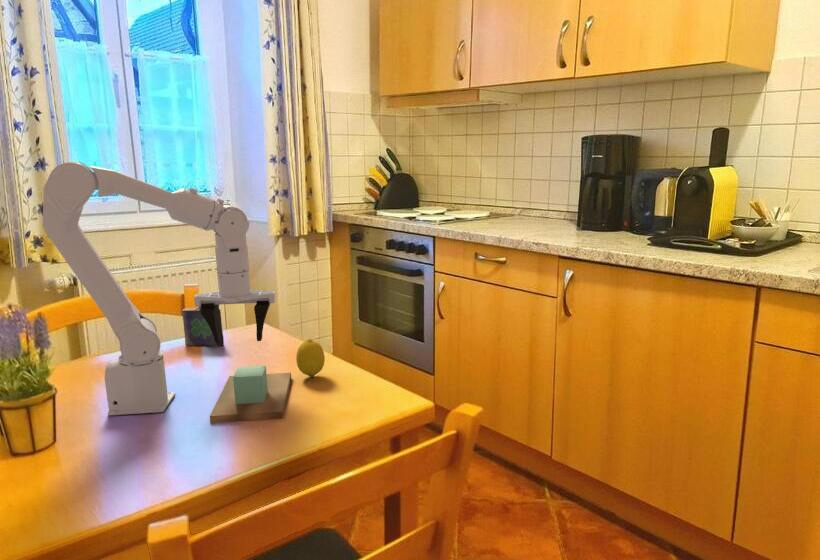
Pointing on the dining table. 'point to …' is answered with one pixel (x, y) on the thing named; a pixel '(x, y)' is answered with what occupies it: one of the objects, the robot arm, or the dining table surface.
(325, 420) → the dining table surface
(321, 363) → the lemon
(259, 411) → the board
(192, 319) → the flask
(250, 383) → the block
